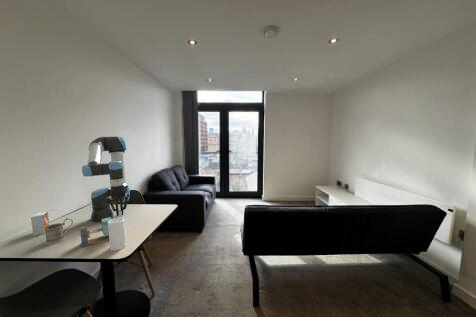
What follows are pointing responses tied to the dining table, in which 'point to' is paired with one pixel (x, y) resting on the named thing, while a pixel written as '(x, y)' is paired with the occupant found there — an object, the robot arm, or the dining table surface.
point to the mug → (55, 233)
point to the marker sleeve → (105, 226)
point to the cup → (117, 233)
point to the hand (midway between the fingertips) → (120, 220)
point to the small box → (39, 223)
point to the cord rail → (86, 234)
